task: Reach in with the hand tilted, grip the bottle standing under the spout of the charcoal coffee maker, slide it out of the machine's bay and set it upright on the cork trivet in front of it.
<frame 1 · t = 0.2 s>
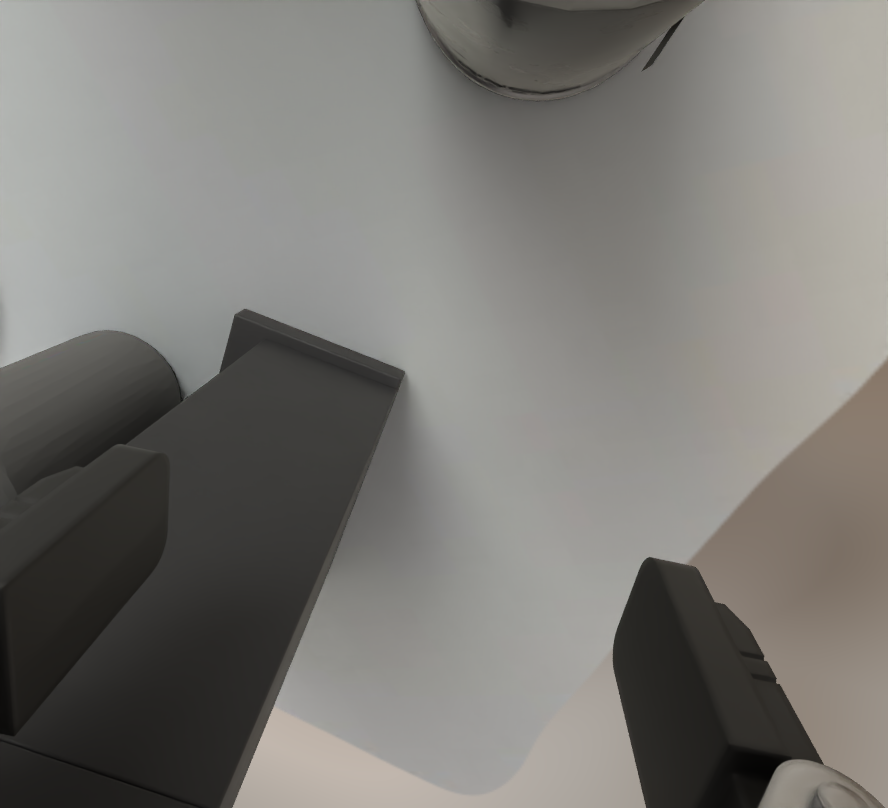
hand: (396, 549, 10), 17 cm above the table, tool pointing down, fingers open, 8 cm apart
coffee maker: (121, 389, 29), on the table
bottle: (123, 388, 29), on the table
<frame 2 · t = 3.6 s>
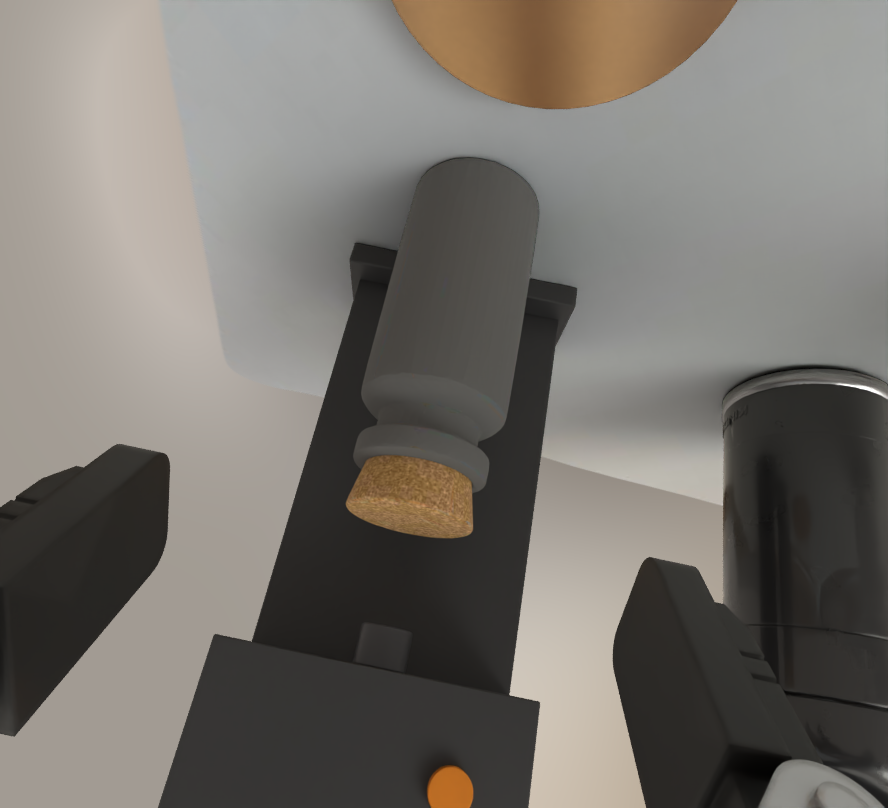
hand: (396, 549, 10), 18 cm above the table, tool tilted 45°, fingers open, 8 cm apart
coffee maker: (476, 205, 29), on the table
bottle: (477, 202, 29), on the table
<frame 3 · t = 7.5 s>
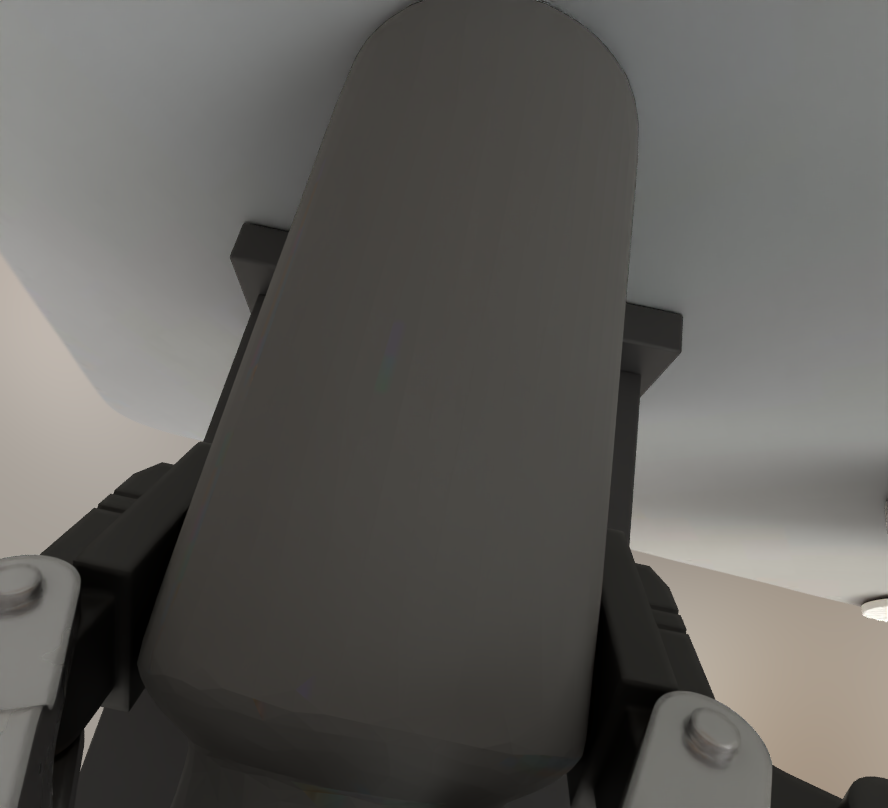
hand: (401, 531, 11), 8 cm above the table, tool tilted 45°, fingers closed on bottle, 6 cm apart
coffee maker: (488, 133, 13), on the table
bottle: (489, 126, 13), on the table, touching gripper
when the fingers open (9 cm above the table, at t = 15.4 s): bottle stays where it is, resting on trivet.
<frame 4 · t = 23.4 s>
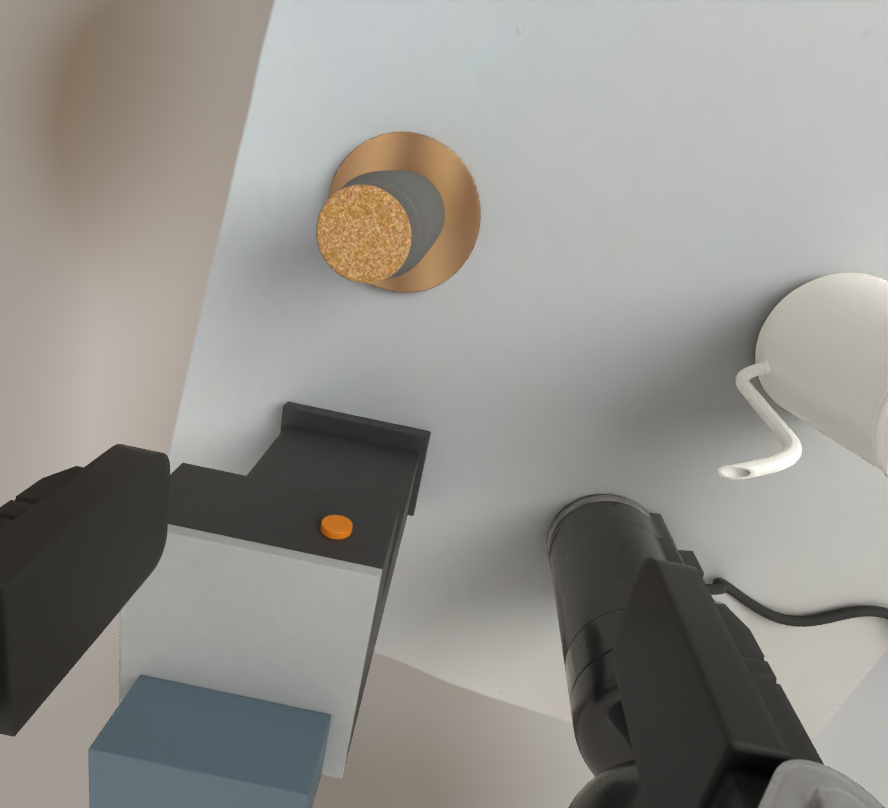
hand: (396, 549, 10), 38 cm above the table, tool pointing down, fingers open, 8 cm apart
coffee maker: (367, 364, 50), on the table
trivet: (404, 215, 45), on the table
coffeepot: (818, 344, 47), on the table
bottle: (404, 213, 45), point 1 cm above the table, touching trivet
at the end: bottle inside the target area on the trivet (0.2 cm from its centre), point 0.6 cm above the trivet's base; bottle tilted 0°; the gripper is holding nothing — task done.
